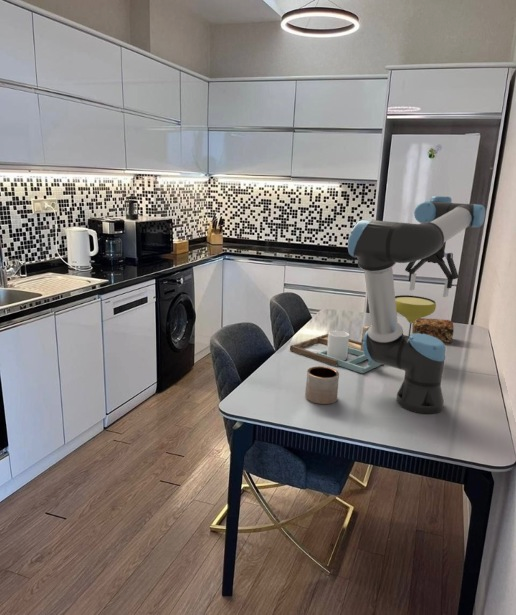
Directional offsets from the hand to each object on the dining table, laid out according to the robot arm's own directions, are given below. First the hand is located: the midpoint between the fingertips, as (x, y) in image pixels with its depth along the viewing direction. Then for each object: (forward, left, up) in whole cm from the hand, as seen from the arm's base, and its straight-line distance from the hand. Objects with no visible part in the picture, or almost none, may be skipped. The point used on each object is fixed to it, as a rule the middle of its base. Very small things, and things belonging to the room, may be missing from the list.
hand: (428, 293), depth 184 cm
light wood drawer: (0, +36, -32) cm, 48 cm away
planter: (-52, +10, -32) cm, 62 cm away
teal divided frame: (-13, +24, -32) cm, 42 cm away
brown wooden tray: (-9, +36, -32) cm, 49 cm away
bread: (+45, +15, -32) cm, 57 cm away
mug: (-13, +30, -32) cm, 45 cm away
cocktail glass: (+12, +11, -32) cm, 36 cm away
